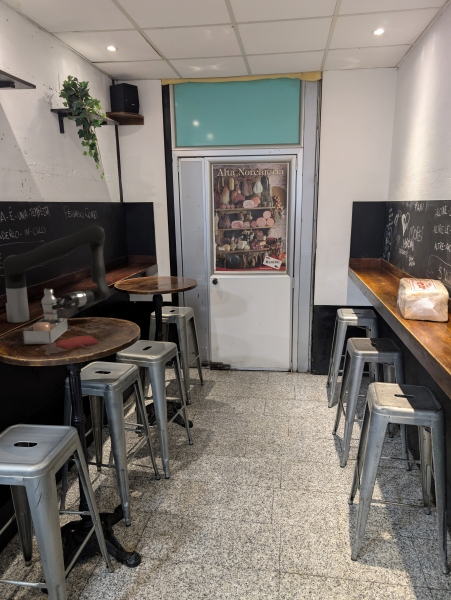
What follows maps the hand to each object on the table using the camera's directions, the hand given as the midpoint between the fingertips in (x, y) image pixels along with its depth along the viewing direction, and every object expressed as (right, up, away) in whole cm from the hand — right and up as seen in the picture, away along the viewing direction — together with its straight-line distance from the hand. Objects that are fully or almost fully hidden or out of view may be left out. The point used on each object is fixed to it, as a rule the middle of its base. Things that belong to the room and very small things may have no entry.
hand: (46, 306), depth 187 cm
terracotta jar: (+1, -14, -6) cm, 16 cm away
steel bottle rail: (+1, -14, -1) cm, 14 cm away
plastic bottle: (+1, -12, +4) cm, 13 cm away
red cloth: (+17, -16, -9) cm, 25 cm away
